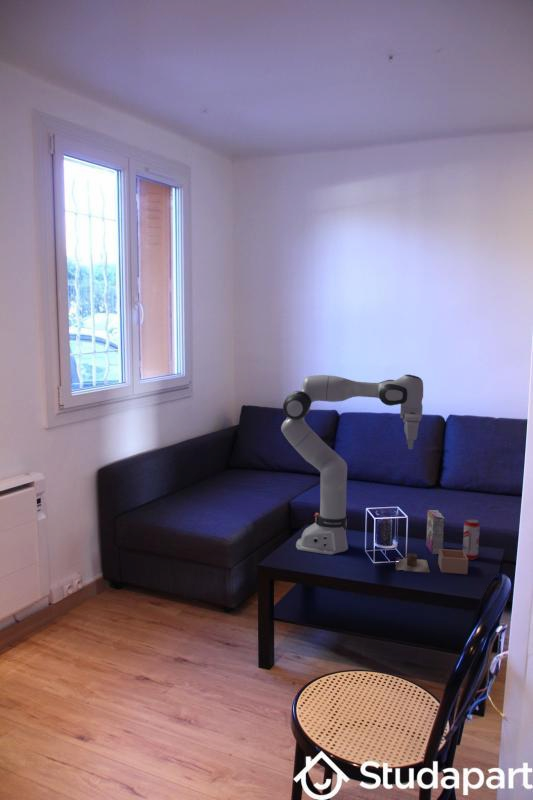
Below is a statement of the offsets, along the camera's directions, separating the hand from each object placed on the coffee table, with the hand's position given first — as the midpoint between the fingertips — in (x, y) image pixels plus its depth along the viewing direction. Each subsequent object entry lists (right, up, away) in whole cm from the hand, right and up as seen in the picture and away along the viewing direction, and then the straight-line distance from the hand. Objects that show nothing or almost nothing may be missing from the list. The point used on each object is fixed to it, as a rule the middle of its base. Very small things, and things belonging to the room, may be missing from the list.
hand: (409, 446), depth 262 cm
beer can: (+26, -47, +2) cm, 54 cm away
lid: (-1, -48, -8) cm, 49 cm away
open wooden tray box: (+15, -48, -10) cm, 51 cm away
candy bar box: (+13, -46, +10) cm, 49 cm away
